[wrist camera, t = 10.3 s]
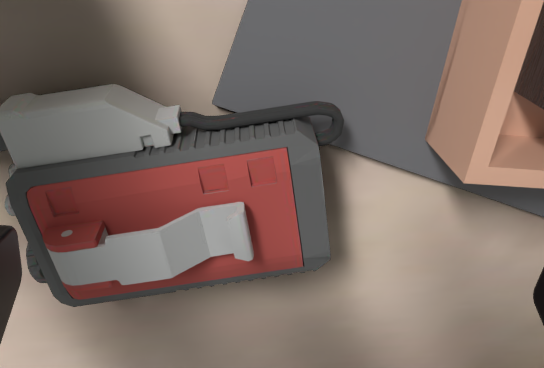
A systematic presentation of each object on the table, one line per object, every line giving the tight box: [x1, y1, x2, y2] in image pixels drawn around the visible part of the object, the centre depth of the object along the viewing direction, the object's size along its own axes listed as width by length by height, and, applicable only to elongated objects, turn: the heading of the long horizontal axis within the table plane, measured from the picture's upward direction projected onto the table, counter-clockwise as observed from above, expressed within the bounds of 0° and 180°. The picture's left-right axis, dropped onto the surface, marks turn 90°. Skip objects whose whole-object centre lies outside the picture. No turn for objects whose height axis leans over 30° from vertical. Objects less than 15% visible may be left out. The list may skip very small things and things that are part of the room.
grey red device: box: [0, 84, 344, 307], centre depth 20 cm, size 9×4×20 cm
